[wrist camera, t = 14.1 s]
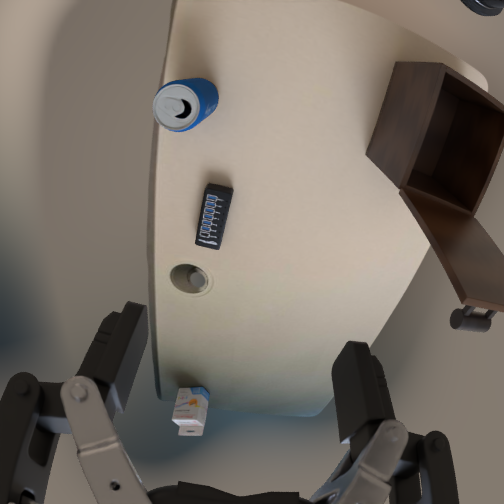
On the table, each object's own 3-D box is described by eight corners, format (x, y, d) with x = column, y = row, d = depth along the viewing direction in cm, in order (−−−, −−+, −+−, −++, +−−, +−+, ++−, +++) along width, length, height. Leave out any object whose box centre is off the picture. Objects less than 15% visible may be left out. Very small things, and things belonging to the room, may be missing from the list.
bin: (395, 61, 35) (442, 62, 23) (461, 96, 36) (514, 114, 24) (365, 155, 44) (398, 188, 32) (430, 180, 45) (472, 219, 34)
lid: (467, 297, 18) (426, 343, 22) (539, 313, 19) (506, 348, 23) (401, 187, 32) (381, 226, 35) (475, 218, 33) (456, 250, 37)
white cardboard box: (202, 385, 83) (195, 429, 71) (210, 393, 85) (203, 435, 73) (178, 387, 85) (169, 428, 72) (186, 395, 87) (177, 435, 75)
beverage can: (209, 124, 43) (191, 141, 33) (171, 110, 42) (142, 124, 32) (226, 86, 40) (211, 91, 30) (186, 72, 39) (159, 73, 29)
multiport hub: (234, 188, 49) (232, 194, 47) (220, 243, 55) (219, 250, 53) (207, 182, 49) (205, 187, 47) (197, 238, 55) (194, 244, 53)
